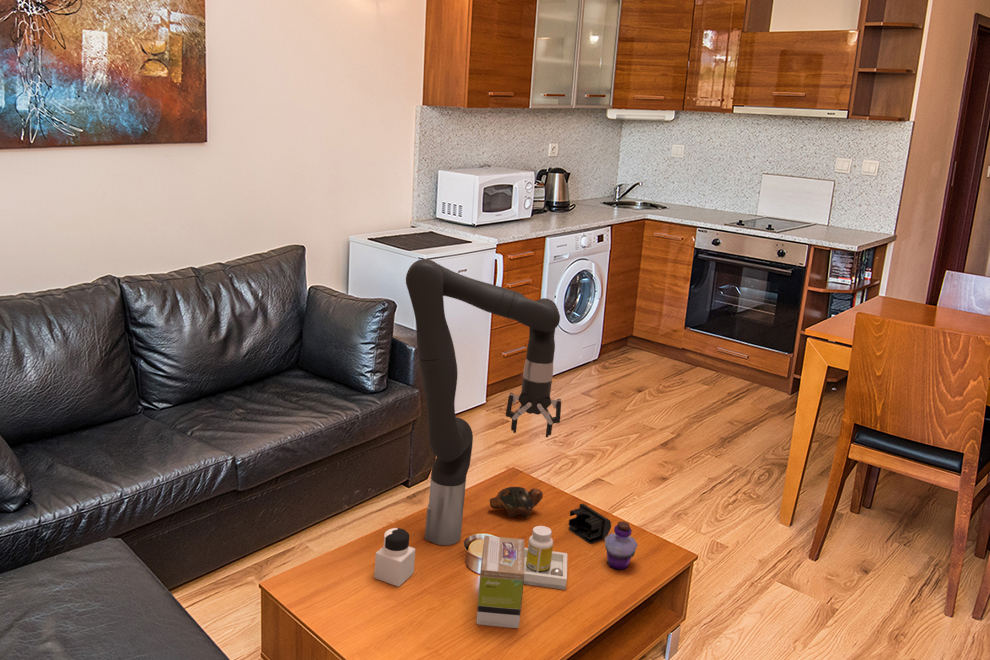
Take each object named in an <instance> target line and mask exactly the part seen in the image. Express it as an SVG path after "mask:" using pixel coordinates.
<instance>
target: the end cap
mask: <svg viewBox="0 0 990 660" xmlns="http://www.w3.org/2000/svg"><path fill="white" fill-rule="evenodd" d="M569 516H570V517H573V516H574V517H573V518H570V519H568V526H569V527H568V530H569V532H571V533H573V534H575V535H576V536H578V537H579V538H580V539H582V540H583V541H585V542H586V543H588V544H590V545H592V544H595V543H598V542H600V541H602V540H603V539H605V537H607V536H608V535H609V534H610V531H611V528H612V522H611V520H610V519H609V518H607V517H606V516H604V515H603V514H601V513H600V512H597V511H596V510H595V509H593V508H591V507H590V506H588V505H587V504H586V503H580V504H579V507H578V508H575V509H572V510H570V511H569Z"/></svg>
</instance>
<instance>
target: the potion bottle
mask: <svg viewBox="0 0 990 660" xmlns="http://www.w3.org/2000/svg"><path fill="white" fill-rule="evenodd" d="M613 531H614V532H611V533H610V532H609V533H608V535H607V536H606V537H605V538H604V544H605V545H604V547H605V549H606V558H607V559H606V560H607V561H606V564H607V566H608V567H609V568H610V569H613V570H615V571H625V570H627V568H629V564H630V562H631V558H633V557H634V556H635V553H636V551H637V548H638V545H639V544H638V542H637V541H636V539H635V538H634V537H633V536H631V535H632V528H631V526H630V523H628V522H627V521H622V520H621V521H618V522H617V525H615V526H614V530H613Z"/></svg>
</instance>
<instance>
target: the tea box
mask: <svg viewBox="0 0 990 660" xmlns="http://www.w3.org/2000/svg"><path fill="white" fill-rule="evenodd" d="M483 539H484V540H483V547H482V555H481V564H480V571H479V572H480V573H479V574H480V575H479V584H478V596H477V607H476V609H477V611H476V622H475V623H476V624H477V625H478V626H479V625H480V626H488V627H489V626H490V627H496V628H497V627H499V628H508V629H509V628H510V629H519V628H520V627H519V626H520V620H521V619H520V618H521V611H522V603H523V602H522V601H523V592H524V585H525V584H524V548H525V539H524V538H514V537H513V538H512V537H501V536H491V535H490V536H489V535H484V538H483Z"/></svg>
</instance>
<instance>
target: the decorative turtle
mask: <svg viewBox="0 0 990 660" xmlns="http://www.w3.org/2000/svg"><path fill="white" fill-rule="evenodd" d="M543 496H544V494H543V491H542V490H541V489H540V488H530V490H527V489H526V488H524V487H523V486H522V487H521V486H509V487H504V488H503V489H501V490H500V491H499V492H498V493H497V495H496V496H495V497H490V499H489V505H490V508H491V509H495V510H497V509H500V510H501V509H502V510H503V509H504V510H505V511H506V512H507V515H508V517H509V518H511V519H512V518H514V517H516V516H517V515H519V514H521V516H522V517H523V518H524V519H528V518H530V517H531V515H532V514H531V513H532V511H533V509H534V508H535V507H536V506H537V505H538V504H539V503H540V502H541V501H542V499H543Z"/></svg>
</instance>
